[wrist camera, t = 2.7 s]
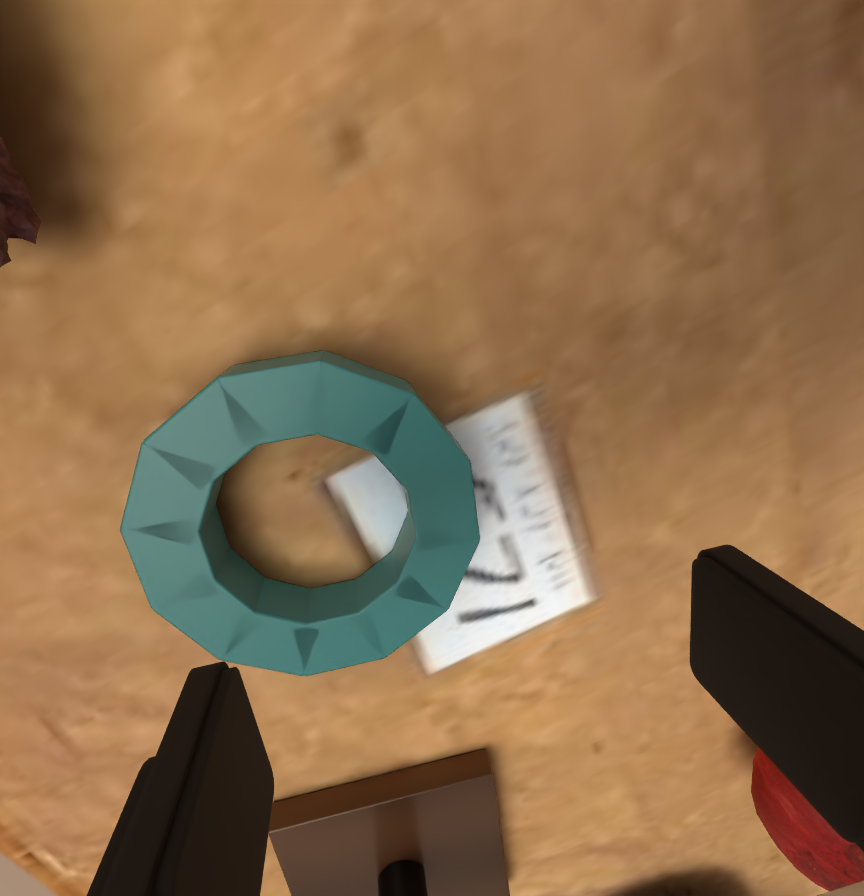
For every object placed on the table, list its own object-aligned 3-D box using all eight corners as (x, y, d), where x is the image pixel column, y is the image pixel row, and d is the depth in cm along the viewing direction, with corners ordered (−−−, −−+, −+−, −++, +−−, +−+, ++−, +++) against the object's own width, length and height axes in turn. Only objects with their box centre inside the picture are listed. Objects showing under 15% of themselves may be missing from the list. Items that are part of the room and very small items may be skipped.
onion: (711, 791, 25) (868, 1013, 17) (711, 703, 23) (888, 912, 15) (818, 757, 25) (1016, 960, 18) (827, 669, 23) (1055, 855, 16)
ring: (103, 386, 15) (67, 402, 13) (442, 330, 16) (455, 337, 14) (205, 659, 18) (188, 704, 16) (477, 599, 19) (492, 634, 17)
